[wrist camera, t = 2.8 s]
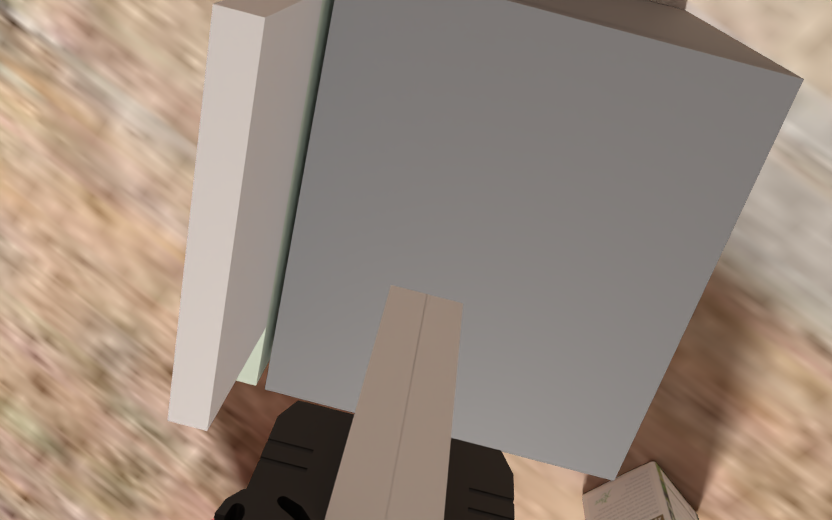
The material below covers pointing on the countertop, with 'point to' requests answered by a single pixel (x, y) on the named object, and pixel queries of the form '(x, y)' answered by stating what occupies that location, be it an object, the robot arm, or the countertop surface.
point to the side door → (244, 194)
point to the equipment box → (523, 205)
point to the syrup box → (638, 498)
